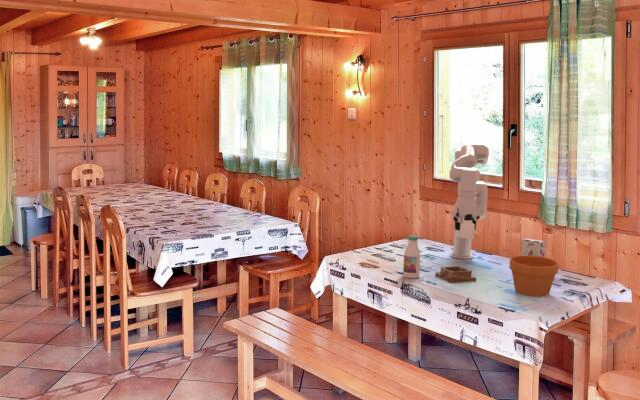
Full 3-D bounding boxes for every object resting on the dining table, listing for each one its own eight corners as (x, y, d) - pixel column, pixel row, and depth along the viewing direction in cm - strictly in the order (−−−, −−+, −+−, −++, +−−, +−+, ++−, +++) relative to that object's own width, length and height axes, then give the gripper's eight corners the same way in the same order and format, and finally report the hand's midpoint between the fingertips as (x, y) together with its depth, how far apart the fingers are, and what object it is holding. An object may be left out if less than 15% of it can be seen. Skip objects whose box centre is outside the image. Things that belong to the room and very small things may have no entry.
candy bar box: (544, 272, 329) (546, 241, 326) (539, 274, 325) (542, 242, 323) (523, 268, 336) (525, 237, 334) (519, 269, 332) (521, 238, 330)
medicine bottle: (469, 236, 319) (471, 212, 318) (474, 238, 312) (475, 214, 311) (455, 235, 319) (457, 211, 317) (459, 238, 312) (461, 213, 310)
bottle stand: (435, 275, 315) (435, 266, 315) (459, 273, 321) (460, 264, 320) (451, 282, 303) (451, 273, 302) (476, 280, 308) (476, 271, 307)
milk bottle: (409, 274, 317) (411, 234, 314) (422, 277, 312) (424, 236, 309) (399, 276, 312) (401, 235, 309) (412, 279, 306) (414, 238, 304)
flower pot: (544, 302, 276) (547, 268, 274) (499, 292, 289) (501, 260, 287) (563, 293, 291) (566, 261, 289) (519, 283, 305) (522, 253, 303)
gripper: (477, 193, 320) (475, 227, 322) (447, 193, 313) (445, 228, 315) (486, 195, 313) (484, 230, 315) (456, 195, 306) (454, 231, 308)
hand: (465, 229), depth 315 cm, fingers closed on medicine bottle, 8 cm apart
